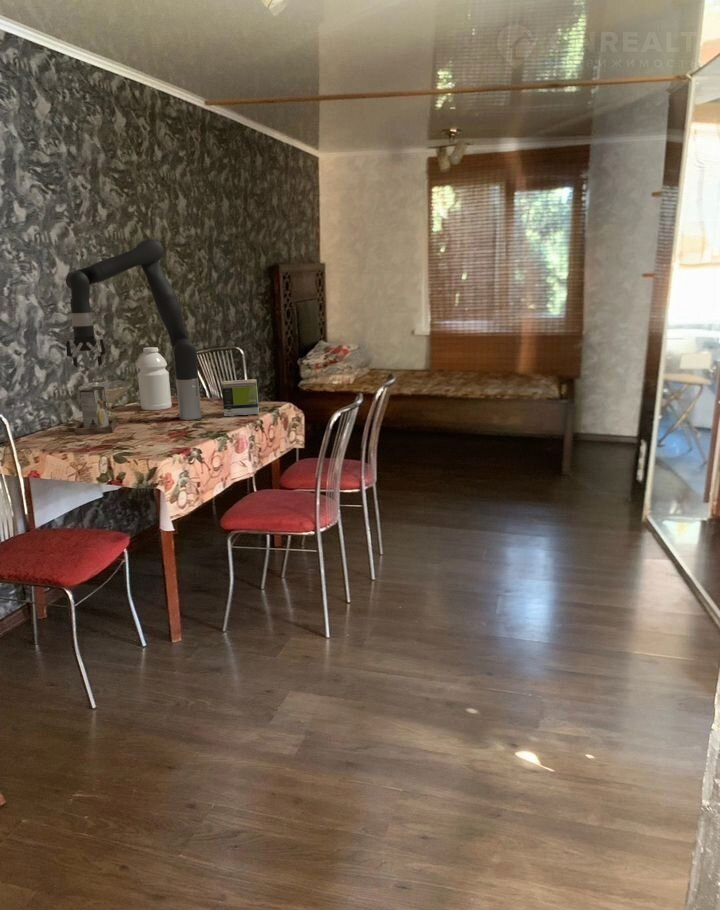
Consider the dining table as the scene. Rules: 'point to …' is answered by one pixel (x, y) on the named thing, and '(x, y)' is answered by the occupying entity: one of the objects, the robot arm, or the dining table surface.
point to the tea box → (240, 397)
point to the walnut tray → (95, 429)
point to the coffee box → (94, 407)
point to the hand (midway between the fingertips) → (88, 366)
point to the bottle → (153, 381)
